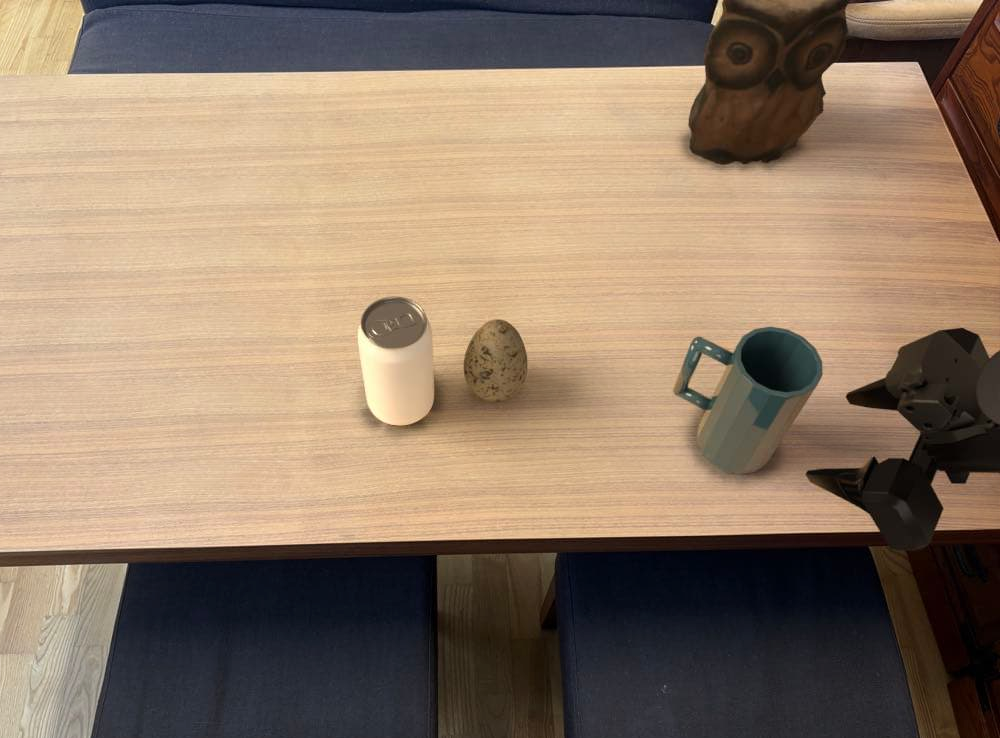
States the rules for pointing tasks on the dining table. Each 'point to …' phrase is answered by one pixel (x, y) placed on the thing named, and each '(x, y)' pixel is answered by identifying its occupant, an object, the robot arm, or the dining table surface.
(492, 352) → the decorative egg
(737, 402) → the teal mug
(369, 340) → the can
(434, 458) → the dining table surface
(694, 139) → the owl
